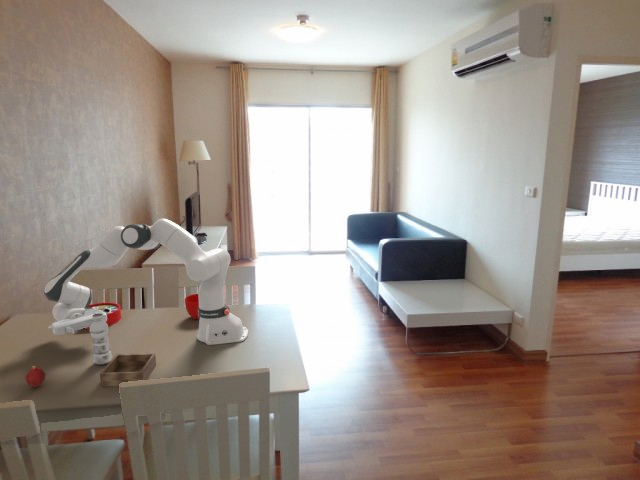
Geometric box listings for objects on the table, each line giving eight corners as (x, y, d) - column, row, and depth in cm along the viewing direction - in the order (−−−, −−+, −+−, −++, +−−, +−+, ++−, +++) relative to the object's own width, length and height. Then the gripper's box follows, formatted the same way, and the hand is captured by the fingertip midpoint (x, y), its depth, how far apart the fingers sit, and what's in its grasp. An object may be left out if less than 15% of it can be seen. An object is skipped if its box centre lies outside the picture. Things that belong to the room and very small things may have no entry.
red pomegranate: (33, 382, 152) (30, 362, 151) (50, 381, 153) (47, 361, 151) (23, 391, 147) (20, 370, 145) (41, 390, 147) (37, 369, 145)
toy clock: (98, 300, 219) (129, 305, 213) (100, 311, 220) (130, 316, 214) (64, 314, 201) (96, 320, 194) (65, 325, 202) (98, 331, 195)
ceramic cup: (222, 311, 219) (221, 293, 217) (200, 323, 204) (199, 304, 202) (202, 307, 224) (201, 289, 222) (180, 319, 209) (178, 300, 207)
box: (156, 365, 165) (155, 353, 164) (143, 385, 151) (142, 372, 150) (117, 366, 164) (116, 354, 163) (101, 386, 150) (99, 374, 148)
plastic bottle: (105, 367, 163) (99, 318, 158) (89, 366, 164) (83, 317, 160) (116, 359, 169) (111, 312, 165) (101, 358, 170) (95, 311, 166)
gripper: (45, 319, 172) (57, 328, 163) (98, 305, 187) (111, 313, 179) (47, 333, 174) (59, 343, 165) (99, 319, 189) (113, 327, 180)
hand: (87, 327), depth 172 cm, fingers open, 8 cm apart
